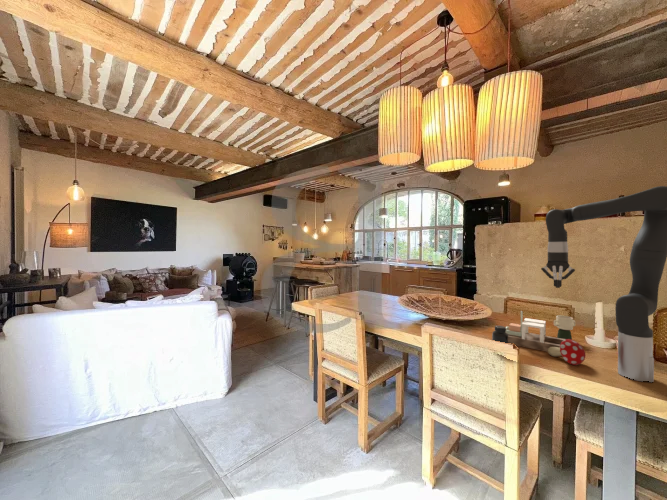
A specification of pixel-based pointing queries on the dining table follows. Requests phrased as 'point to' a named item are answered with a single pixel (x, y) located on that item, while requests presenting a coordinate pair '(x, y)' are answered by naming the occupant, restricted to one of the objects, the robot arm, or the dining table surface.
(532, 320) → the tunnel
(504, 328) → the supplement bottle
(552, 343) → the track
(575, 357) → the decorative mushroom
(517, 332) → the sled
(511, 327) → the block
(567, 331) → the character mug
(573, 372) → the dining table surface
